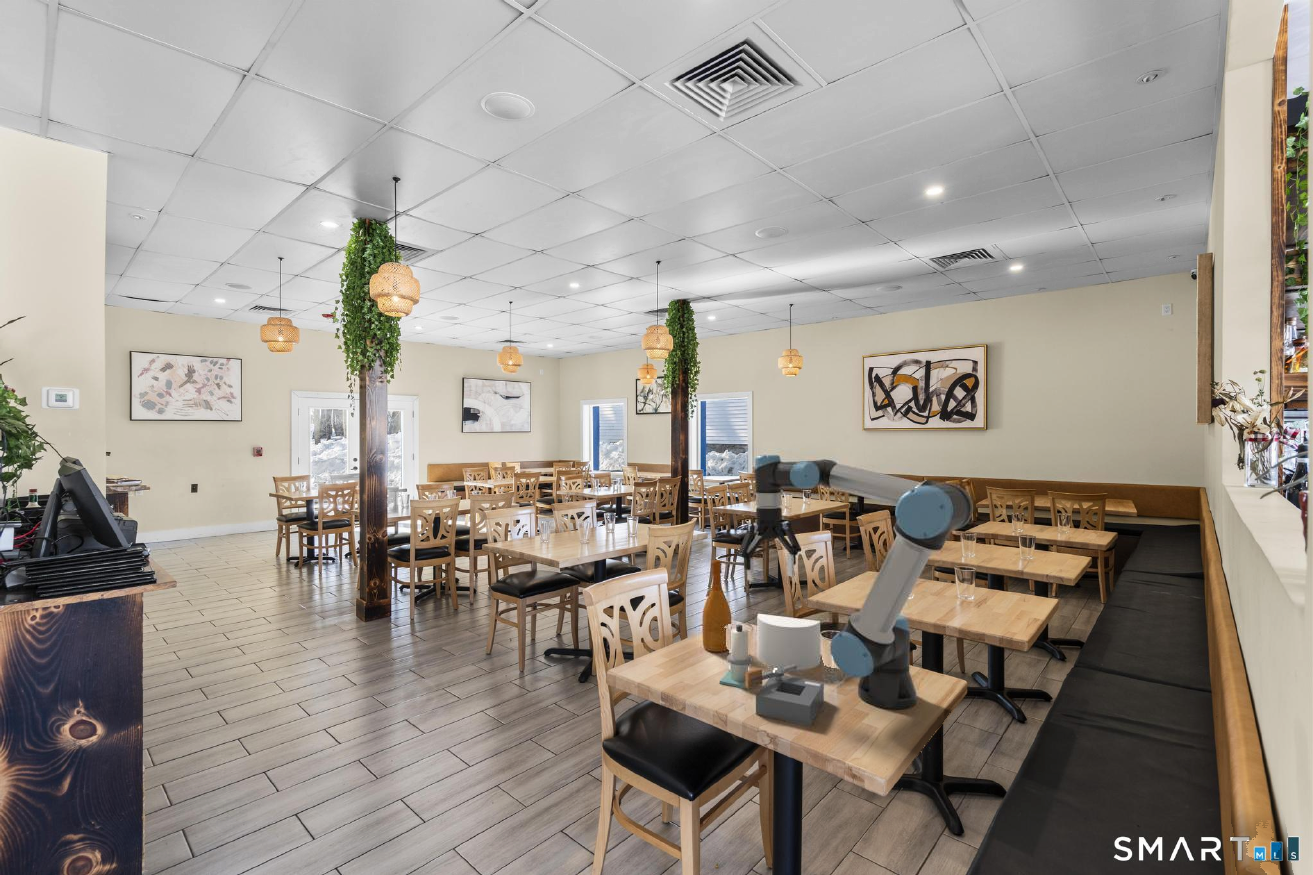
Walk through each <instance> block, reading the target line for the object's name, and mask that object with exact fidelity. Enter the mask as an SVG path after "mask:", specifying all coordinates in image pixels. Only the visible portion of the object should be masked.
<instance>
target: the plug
mask: <svg viewBox="0 0 1313 875" xmlns="http://www.w3.org/2000/svg"><path fill="white" fill-rule="evenodd" d="M726 660H727V662H728V664H730V670H731V679H732V680H734V681H738V682H743V681H745V672H746V671H749V665H750V664H751V663H752V656H751V655H750V654H749V630H748V629H746V628H743V625H742V624H736V627H735V628H731V647H730V653H729V654H728V655H727V658H726Z"/></svg>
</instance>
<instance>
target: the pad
mask: <svg viewBox="0 0 1313 875" xmlns="http://www.w3.org/2000/svg"><path fill="white" fill-rule="evenodd" d="M719 684H720V685H726V686H729V687H730V686H731V687H735V688H740V689H746V690H750V689H751V688H747V687H745V681H743V682H738V681H734V680H732V679H731V669H730V670H729V671H728V672H726V674H725V675H724V676H723V677H722V678H721V679H720V680H719Z"/></svg>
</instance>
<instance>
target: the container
mask: <svg viewBox="0 0 1313 875" xmlns="http://www.w3.org/2000/svg"><path fill="white" fill-rule="evenodd" d="M756 618H757V619H756V620H757V622H756V623H757V625H756V628H757V629H756V630H757V632H756V634H757V635H756V636H757V641H756V642H757V643H756V645H757V650H756V651H757V652H756V653H757V659H758V660H759V661H760V662H761V663H762V664H764V665H765V666H768V667H771V668H773V667H775V666H780V667H785V666H789V665H792V664H795V665H797V670H796V671H804V670H805V671H806V670H810V669H813V668H816V667H818V666H819V665H820V664H821V621H820V620H812V619H804V618H797V617H796V618H795V617H788V616H779V615H773V614H772V615H771V614H765V613H764V614H763V613H758V614H757V616H756Z"/></svg>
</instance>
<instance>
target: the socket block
mask: <svg viewBox="0 0 1313 875" xmlns="http://www.w3.org/2000/svg"><path fill="white" fill-rule="evenodd" d="M824 689H825V685H824V682H823V681H818V680H815V679H814V680H813V679H807V678H802V677H798V676H791V675H786V674H784V675H783V676H775V677H771V678H768V679H767V681H766V682H765V683H764V684H763V686H762V687H761V688H760V689H759V690H758V691H757V693H756V694H755V715H758V716H762V717H766V718H767V717H768V718H771V719H775V720H776V719H777V720H781V721H784V722H785V721H786V722H790V723H794V724H799V725H804V726H808V727H810V726H811V725H812V723H813V721H814V719H815V717H816V715H817V714H818V712H819V710H820V708H821V706H822V704H823V703H824V701H825V700H824V699H825V697H824V696H825V695H824V694H825V693H824V692H825V690H824Z"/></svg>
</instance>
